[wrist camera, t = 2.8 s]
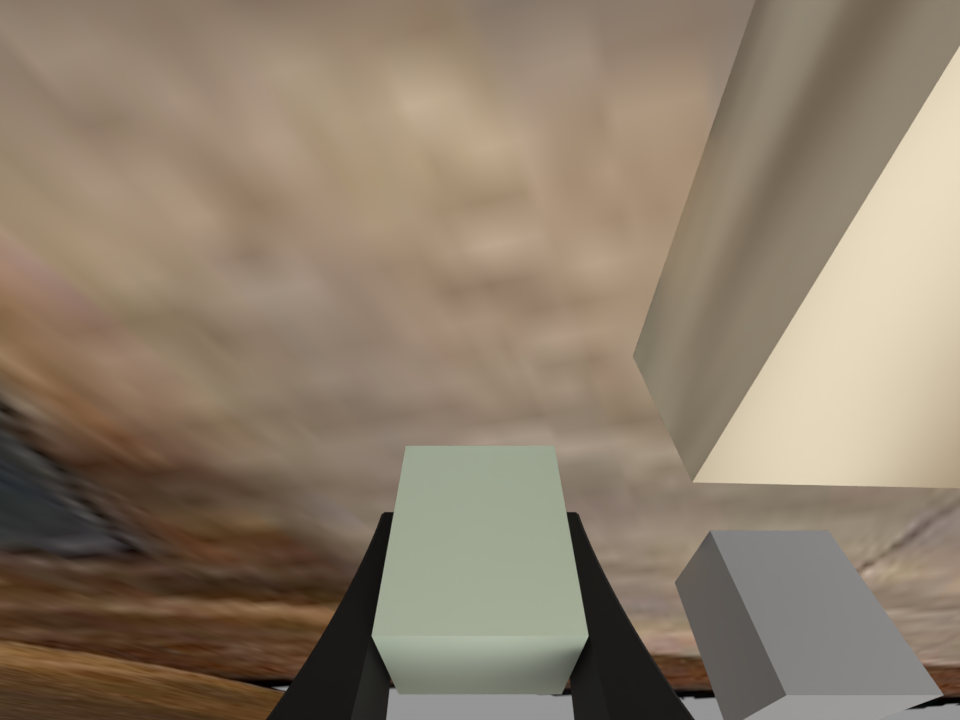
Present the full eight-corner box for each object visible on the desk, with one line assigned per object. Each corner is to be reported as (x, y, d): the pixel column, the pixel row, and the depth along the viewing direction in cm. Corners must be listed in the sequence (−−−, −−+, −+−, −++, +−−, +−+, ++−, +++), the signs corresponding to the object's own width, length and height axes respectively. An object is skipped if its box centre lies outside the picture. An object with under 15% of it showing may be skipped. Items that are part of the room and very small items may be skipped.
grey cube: (674, 581, 18) (726, 729, 14) (709, 528, 16) (786, 695, 12) (774, 581, 18) (853, 728, 14) (827, 529, 16) (943, 695, 12)
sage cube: (419, 524, 15) (398, 694, 11) (405, 446, 12) (371, 636, 8) (540, 524, 15) (561, 694, 11) (554, 445, 12) (588, 635, 8)
